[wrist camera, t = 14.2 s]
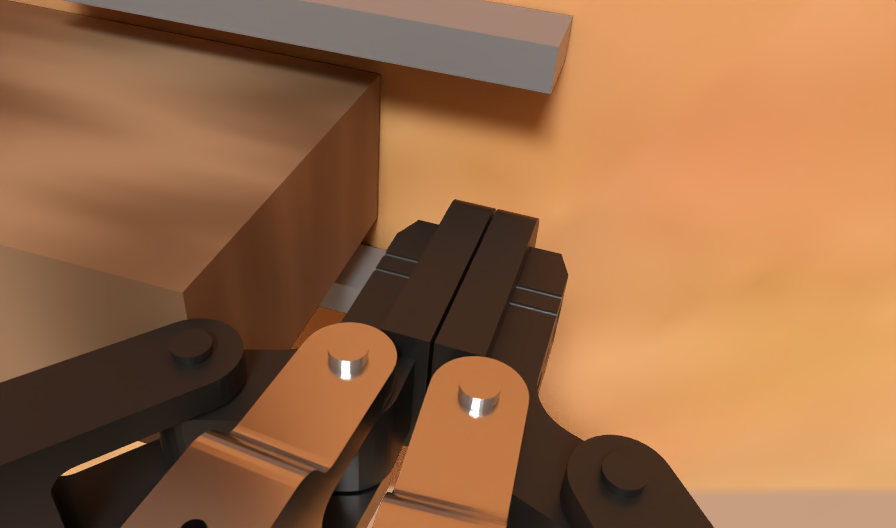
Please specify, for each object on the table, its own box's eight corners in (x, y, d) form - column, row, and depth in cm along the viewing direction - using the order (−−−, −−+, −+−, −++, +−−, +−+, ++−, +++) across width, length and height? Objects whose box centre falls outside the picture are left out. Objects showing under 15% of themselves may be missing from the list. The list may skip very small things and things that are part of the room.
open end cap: (131, 214, 19) (93, 248, 18) (68, -72, 15) (13, -52, 14) (519, 310, 17) (505, 354, 16) (573, 15, 13) (558, 47, 12)
